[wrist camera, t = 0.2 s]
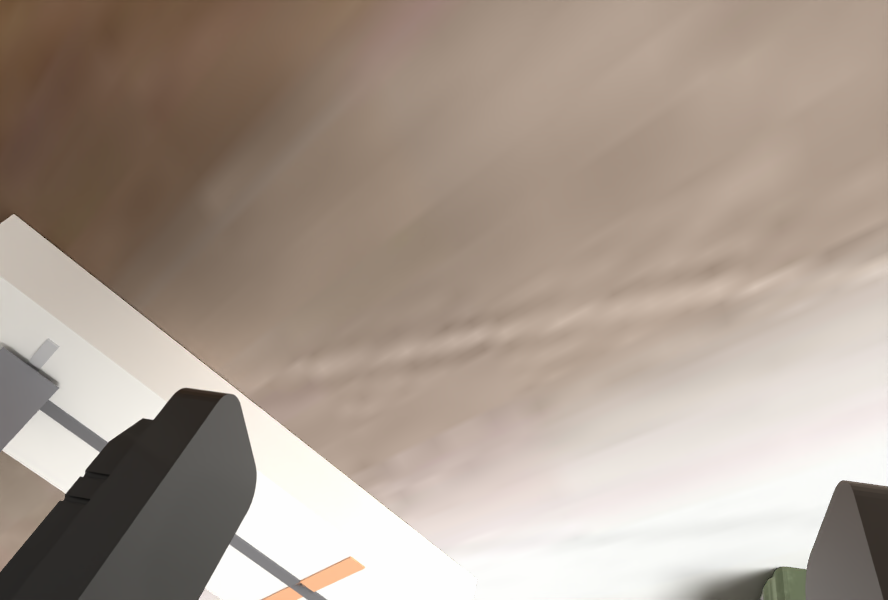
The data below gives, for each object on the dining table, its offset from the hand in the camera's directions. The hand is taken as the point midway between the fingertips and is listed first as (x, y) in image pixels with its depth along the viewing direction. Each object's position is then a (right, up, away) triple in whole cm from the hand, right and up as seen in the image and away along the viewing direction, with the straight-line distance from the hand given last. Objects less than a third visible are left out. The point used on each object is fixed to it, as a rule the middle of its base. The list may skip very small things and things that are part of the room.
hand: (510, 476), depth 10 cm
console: (-14, -6, +31) cm, 34 cm away
